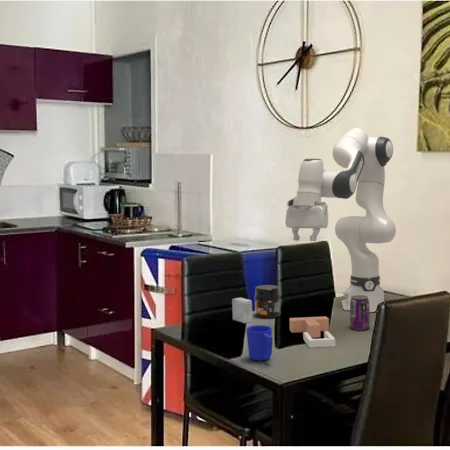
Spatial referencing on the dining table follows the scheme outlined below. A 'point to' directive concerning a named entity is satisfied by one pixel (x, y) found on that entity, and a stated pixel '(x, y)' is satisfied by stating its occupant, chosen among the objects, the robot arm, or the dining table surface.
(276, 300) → the supplement container
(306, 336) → the dock
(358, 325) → the beverage can
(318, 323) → the t block
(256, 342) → the mug
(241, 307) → the medicine box
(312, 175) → the robot arm
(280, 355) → the dining table surface
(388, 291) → the dining table surface
